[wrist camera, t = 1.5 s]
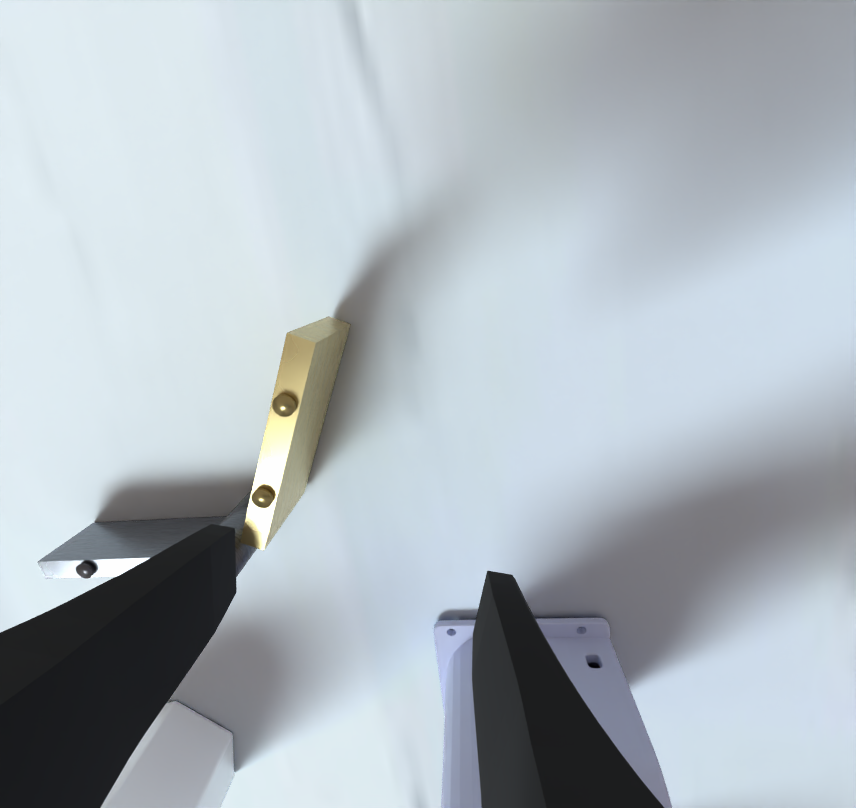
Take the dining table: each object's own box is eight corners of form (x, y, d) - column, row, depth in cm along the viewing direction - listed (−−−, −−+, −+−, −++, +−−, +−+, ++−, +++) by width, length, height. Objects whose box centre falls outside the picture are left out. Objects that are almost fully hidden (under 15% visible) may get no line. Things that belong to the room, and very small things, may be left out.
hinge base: (285, 478, 21) (211, 568, 15) (298, 529, 22) (233, 634, 16) (79, 489, 22) (-70, 577, 16) (99, 537, 23) (-34, 637, 17)
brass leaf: (304, 492, 21) (261, 553, 16) (285, 485, 21) (237, 545, 16) (350, 324, 18) (313, 343, 13) (328, 316, 18) (284, 333, 13)
